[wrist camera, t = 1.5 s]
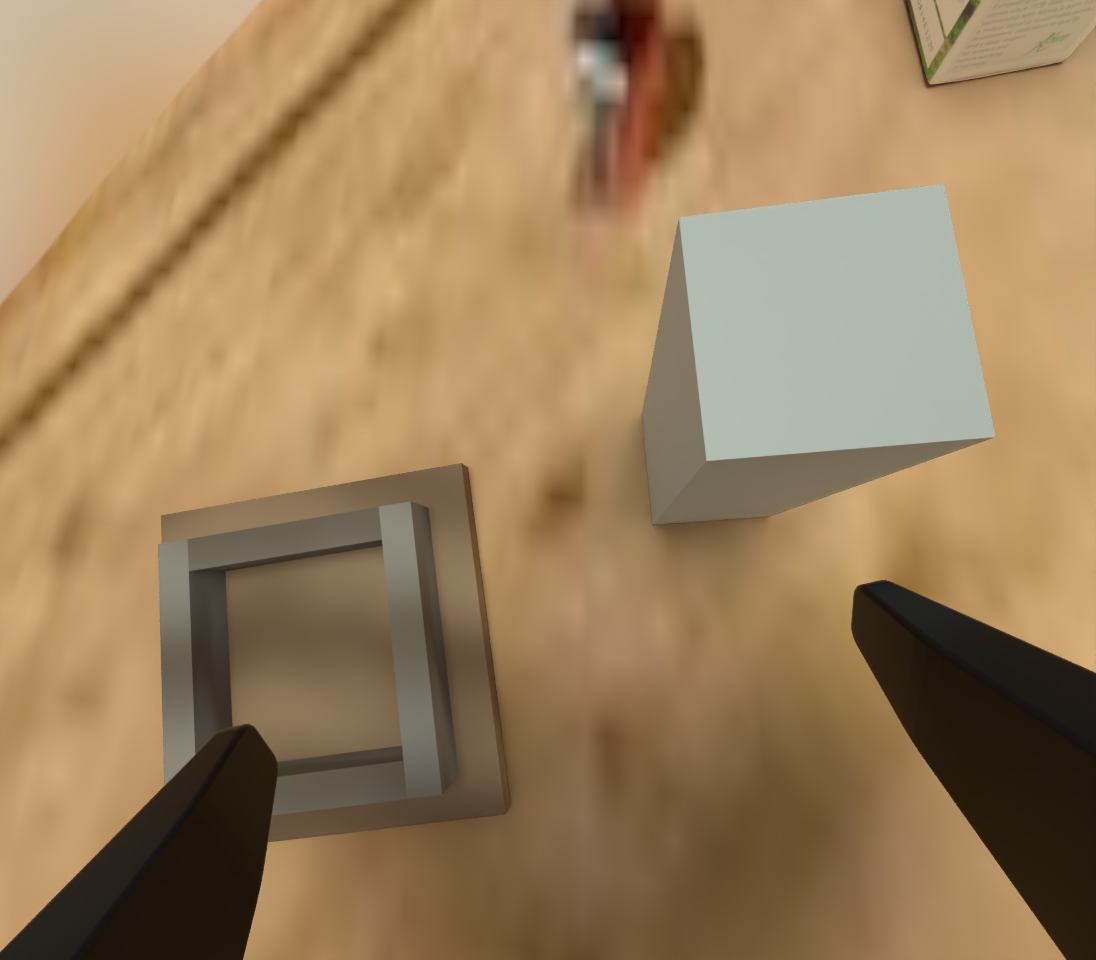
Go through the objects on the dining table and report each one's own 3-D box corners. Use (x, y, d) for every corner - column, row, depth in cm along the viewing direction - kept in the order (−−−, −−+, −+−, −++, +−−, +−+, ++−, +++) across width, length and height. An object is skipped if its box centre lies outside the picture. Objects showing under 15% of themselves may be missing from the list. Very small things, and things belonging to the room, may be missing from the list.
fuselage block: (769, 516, 22) (995, 437, 9) (652, 524, 22) (706, 460, 9) (754, 404, 22) (943, 184, 10) (641, 415, 23) (679, 217, 10)
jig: (510, 802, 21) (494, 840, 18) (189, 841, 22) (125, 882, 19) (467, 467, 23) (446, 452, 20) (179, 517, 24) (120, 510, 21)
